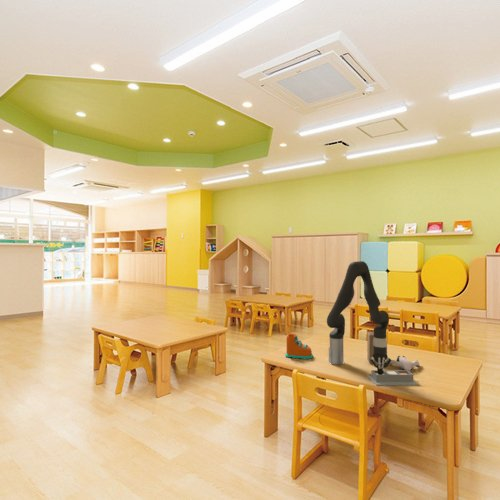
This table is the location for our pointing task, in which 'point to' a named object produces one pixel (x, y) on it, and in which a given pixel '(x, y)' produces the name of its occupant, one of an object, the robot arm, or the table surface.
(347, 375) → the table surface
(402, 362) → the yeti figurine
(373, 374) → the keypad board
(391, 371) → the key grey
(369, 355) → the wooden block
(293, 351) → the toy shoe
